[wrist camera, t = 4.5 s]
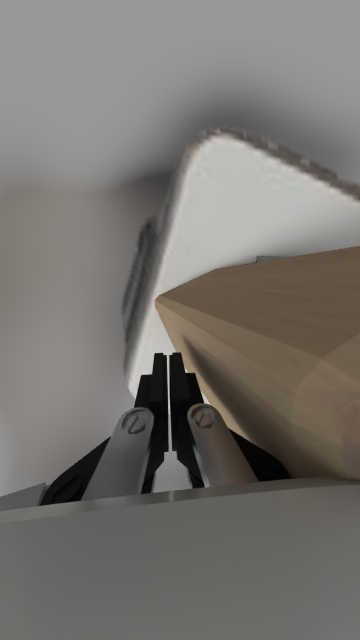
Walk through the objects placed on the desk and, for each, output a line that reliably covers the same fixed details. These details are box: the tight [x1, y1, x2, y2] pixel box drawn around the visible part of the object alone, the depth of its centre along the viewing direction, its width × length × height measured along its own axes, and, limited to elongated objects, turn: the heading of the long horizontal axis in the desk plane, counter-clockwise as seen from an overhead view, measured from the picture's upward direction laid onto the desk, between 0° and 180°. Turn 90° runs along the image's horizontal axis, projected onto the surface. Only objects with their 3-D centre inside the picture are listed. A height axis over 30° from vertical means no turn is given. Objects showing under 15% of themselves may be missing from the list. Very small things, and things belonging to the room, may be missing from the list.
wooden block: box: [155, 246, 360, 481], centre depth 14 cm, size 10×10×20 cm
